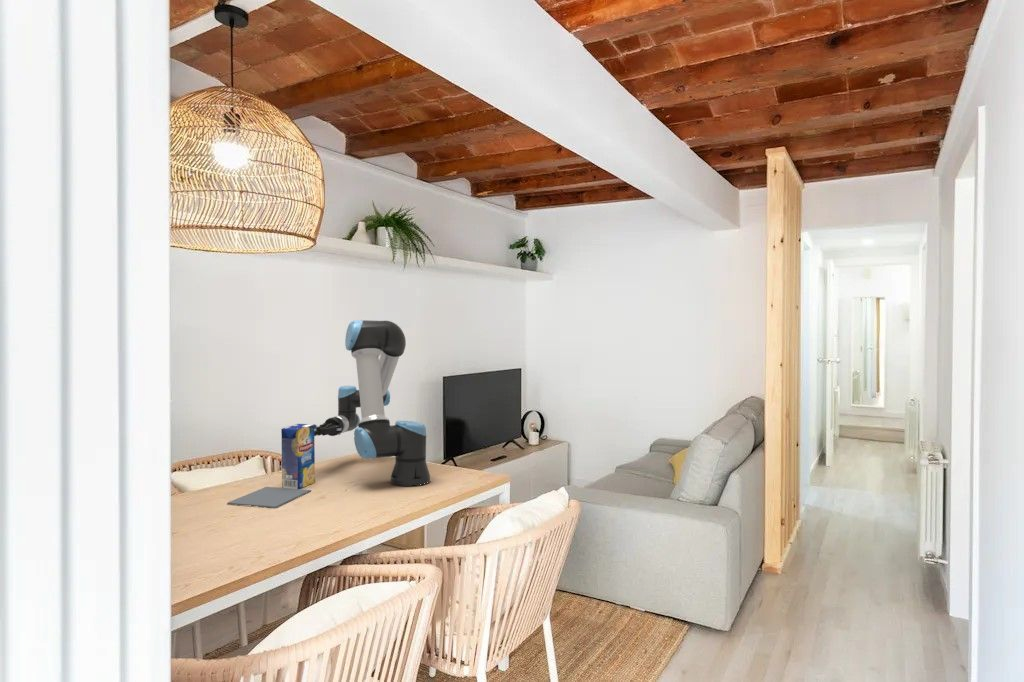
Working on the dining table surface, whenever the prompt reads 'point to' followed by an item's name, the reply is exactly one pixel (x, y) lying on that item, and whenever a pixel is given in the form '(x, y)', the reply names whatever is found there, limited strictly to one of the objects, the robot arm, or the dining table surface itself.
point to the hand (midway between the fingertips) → (305, 434)
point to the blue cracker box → (298, 456)
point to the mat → (270, 497)
